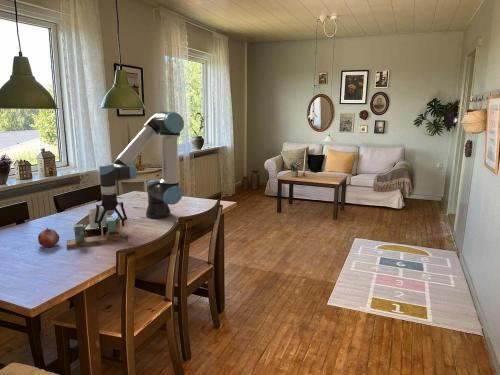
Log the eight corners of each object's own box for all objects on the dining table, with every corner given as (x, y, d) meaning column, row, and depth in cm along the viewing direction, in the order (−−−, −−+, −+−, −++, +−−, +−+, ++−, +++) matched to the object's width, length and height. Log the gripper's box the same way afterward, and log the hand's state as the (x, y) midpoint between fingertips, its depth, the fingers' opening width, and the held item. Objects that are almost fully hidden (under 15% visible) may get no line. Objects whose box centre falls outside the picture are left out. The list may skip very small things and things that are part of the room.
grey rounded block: (101, 232, 203) (99, 212, 200) (87, 230, 205) (85, 211, 202) (113, 225, 214) (112, 206, 212) (99, 224, 216) (98, 205, 214)
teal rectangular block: (115, 232, 203) (114, 218, 201) (116, 234, 199) (115, 220, 197) (106, 233, 201) (105, 219, 199) (107, 235, 197) (106, 221, 195)
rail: (125, 235, 197) (124, 218, 195) (127, 240, 191) (125, 221, 188) (67, 244, 185) (65, 225, 183) (67, 248, 179) (64, 229, 177)
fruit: (44, 242, 187) (41, 223, 185) (63, 242, 188) (61, 223, 186) (34, 249, 178) (32, 229, 176) (54, 248, 179) (52, 229, 177)
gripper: (129, 189, 203) (131, 228, 208) (86, 193, 194) (89, 234, 199) (131, 192, 196) (133, 232, 201) (86, 196, 187) (90, 238, 192)
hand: (112, 233), depth 200 cm, fingers open, 9 cm apart
